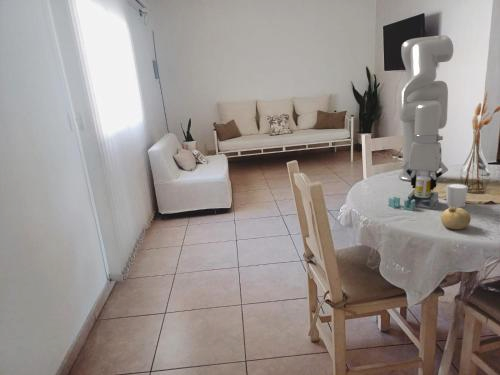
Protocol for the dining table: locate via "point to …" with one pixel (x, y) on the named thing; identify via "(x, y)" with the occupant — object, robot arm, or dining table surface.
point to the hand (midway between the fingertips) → (423, 187)
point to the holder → (424, 201)
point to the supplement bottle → (423, 184)
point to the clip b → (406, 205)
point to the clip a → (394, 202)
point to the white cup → (456, 194)
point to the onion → (455, 218)
